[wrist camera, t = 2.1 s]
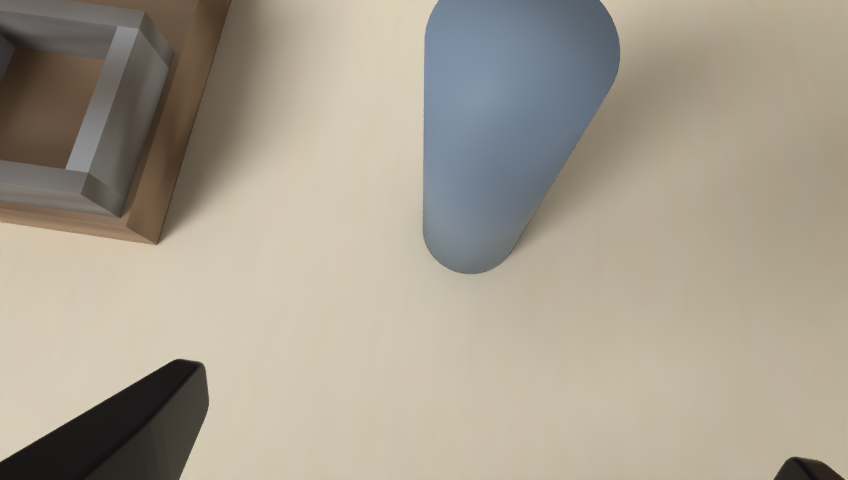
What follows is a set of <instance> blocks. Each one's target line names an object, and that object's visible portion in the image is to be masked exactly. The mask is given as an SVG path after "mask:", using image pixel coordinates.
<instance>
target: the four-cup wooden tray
mask: <svg viewBox="0 0 848 480" xmlns="http://www.w3.org/2000/svg"><path fill="white" fill-rule="evenodd" d="M230 1H231V0H0V222H6V223H12V224H19V225H26V226H32V227H39V228H46V229H53V230H59V231H66V232H73V233H80V234H86V235H93V236H100V237H106V238H113V239H120V240H127V241H133V242H140V243H147V244H154V245H157V243H158V239H159V236H160V233H161V229H162V226H163V223H164V219H165V216H166V213H167V210H168V206H169V203H170V200H171V196H172V193H173V190H174V186H175V183H176V180H177V176H178V173H179V170H180V166H181V163H182V160H183V157H184V153H185V150H186V147H187V143H188V140H189V137H190V133H191V130H192V127H193V123H194V120H195V117H196V113H197V110H198V107H199V103H200V100H201V97H202V94H203V90H204V87H205V84H206V80H207V77H208V74H209V70H210V67H211V64H212V60H213V57H214V54H215V50H216V47H217V44H218V41H219V37H220V34H221V31H222V27H223V24H224V21H225V17H226V14H227V11H228V7H229V4H230Z"/></svg>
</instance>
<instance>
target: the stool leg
mask: <svg viewBox="0 0 848 480" xmlns="http://www.w3.org/2000/svg"><path fill="white" fill-rule="evenodd" d="M619 61H620V45H619V37H618V34H617V30H616V27H615V25H614V22H613V20H612V18H611V16H610V14H609V13H608V11H607V9H606V8H605V7H604V5H603V4H602V3H601V2H600V0H439V1H438V3H437V4H436V5H435V7H434V9H433V11H432V13H431V15H430V17H429V20H428V23H427V27H426V33H425V54H424V159H423V236H424V240H425V243H426V245H427V248H428V250H429V251H430V253H431V254H432V255H433V257H434V258H435V259H436V260H437V261H438V262H439V263H441V264H442V265H443V266H445V267H447V268H448V269H450V270H453V271H455V272H459V273H465V274H476V273H482V272H486V271H488V270H491V269H493V268H495V267H496V266H498V265H499V264H500V263H502V262H503V261H504V260H505V259H506V258H507V256H508V255H509V253H510V252H511V250H512V249H513V247H514V245H515V244H516V242H517V240H518V239H519V237H520V236H521V234H522V232H523V231H524V229H525V227H526V226H527V224H528V222H529V221H530V219H531V218H532V216H533V214H534V213H535V211H536V209H537V208H538V206H539V204H540V203H541V201H542V200H543V198H544V196H545V195H546V193H547V191H548V190H549V188H550V187H551V185H552V183H553V182H554V180H555V178H556V177H557V175H558V173H559V172H560V170H561V169H562V167H563V165H564V164H565V162H566V160H567V159H568V157H569V155H570V154H571V152H572V151H573V149H574V147H575V146H576V144H577V142H578V141H579V139H580V137H581V136H582V134H583V133H584V131H585V129H586V128H587V126H588V124H589V123H590V121H591V119H592V118H593V116H594V115H595V113H596V111H597V110H598V108H599V106H600V105H601V103H602V101H603V100H604V98H605V97H606V95H607V93H608V92H609V90H610V88H611V86H612V84H613V82H614V80H615V77H616V74H617V72H618V67H619Z"/></svg>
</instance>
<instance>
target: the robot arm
mask: <svg viewBox="0 0 848 480" xmlns="http://www.w3.org/2000/svg"><path fill="white" fill-rule="evenodd" d="M208 406H209V395H208V386H207V377H206V370H205V366H204V365H203V363H201V362H198V361H191V360H185V359H176V360H173V361H171V362H170V363H168V364H166V365H165V366H163V367H161V368H159V369H158V370H156V371H154V372H153V373H151V374H149V375H148V376H146V377H144V378H142V379H141V380H139V381H137V382H136V383H134V384H132V385H130V386H129V387H127V388H125V389H124V390H122V391H120V392H119V393H117V394H115V395H113V396H112V397H110V398H108V399H107V400H105V401H103V402H102V403H100V404H98V405H96V406H95V407H93V408H91V409H90V410H88V411H86V412H84V413H83V414H81V415H79V416H78V417H76V418H74V419H73V420H71V421H69V422H67V423H66V424H64V425H62V426H61V427H59V428H57V429H56V430H54V431H52V432H50V433H49V434H47V435H45V436H44V437H42V438H40V439H38V440H37V441H35V442H33V443H32V444H30V445H28V446H27V447H25V448H23V449H21V450H20V451H18V452H16V453H15V454H13V455H11V456H10V457H8V458H6V459H4V460H3V461H1V462H0V480H179V479H180V476H181V474H182V472H183V469H184V467H185V465H186V462H187V460H188V457H189V455H190V453H191V450H192V448H193V446H194V443H195V441H196V438H197V436H198V434H199V431H200V429H201V427H202V424H203V422H204V419H205V417H206V414H207V411H208ZM774 480H845V479H844V478H842V477H841V476H840V475H839V474H837V473H836V472H835V471H834V470H832V469H831V468H830V467H829V466H827V465H826V464H825V463H823V462H821V461H818V460H813V459H807V458H801V457H791V458H789V459H787V460H786V461H785V463H784V464H783V466H782V467H781V469H780V470H779V472H778V473H777V475H776V476H775V478H774Z"/></svg>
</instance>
